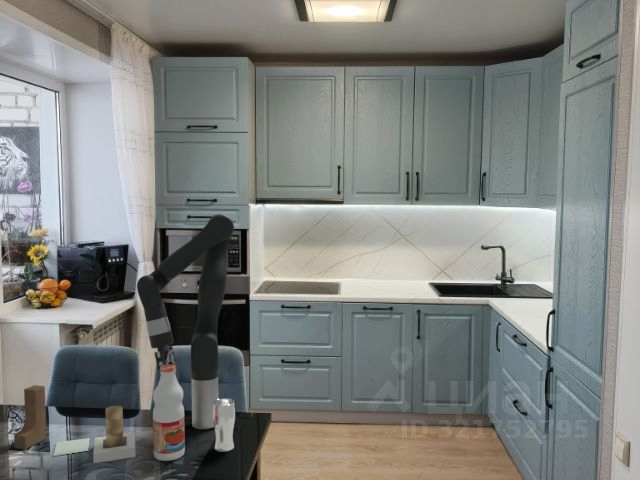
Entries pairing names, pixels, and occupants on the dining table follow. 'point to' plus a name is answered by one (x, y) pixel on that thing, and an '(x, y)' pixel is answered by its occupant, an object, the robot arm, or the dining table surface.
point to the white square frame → (114, 449)
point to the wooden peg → (114, 426)
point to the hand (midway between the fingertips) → (170, 378)
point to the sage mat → (71, 447)
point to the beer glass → (224, 424)
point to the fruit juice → (168, 416)
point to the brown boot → (32, 418)
